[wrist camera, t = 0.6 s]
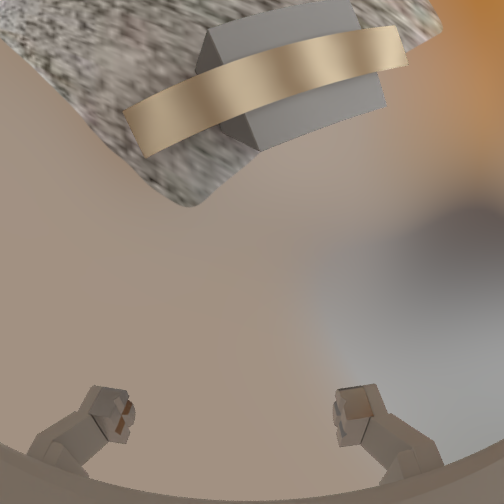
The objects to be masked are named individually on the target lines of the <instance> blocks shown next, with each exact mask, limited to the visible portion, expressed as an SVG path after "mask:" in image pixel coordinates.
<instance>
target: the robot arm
mask: <svg viewBox="0 0 504 504" xmlns="http://www.w3.org/2000/svg"><path fill="white" fill-rule="evenodd" d="M335 397H336V401H335V402H334V405H333V420H334V425H335V426H336V427H338V429H337V439H338V443H339V447H344V446H352V445H359V444H361V446H362V447H363V448H364V449H365V450H366V451H367V452H368V453H369V454H371V456H373V457H374V458H375V459H376V460H377V461H378V462H379V463H380V464H381V465H382V466H383V467H384V468H385V469H386V470H387V472H386V474H385V475H384V477H383V478H382V480H381V481H380V483H379V485H380V486H376V487H372V488H367V489H362V490H357V491H352V492H346V493H341V494H334V495H328V496H321V497H312V498H302V499H289V500H274V501H273V500H272V501H225V500H207V499H194V498H186V497H177V496H169V495H162V494H156V493H150V492H145V491H140V490H134V489H130V488H125V487H121V486H117V485H112V484H108V483H105V482H101V481H97V480H94V479H90V478H89V475H88V473H87V472H86V471H85V470H84V469H83V468H82V467H81V466H82V465H83V464H85V463H86V462H87V461H88V460H89V459H90V458H91V457H93V456H94V455H95V454H96V453H97V452H98V451H99V450H100V449H101V448H103V447H104V446H105V445H106V444H107V443H108V441H110V442H116V443H122V444H126V443H127V440H128V437H129V435H130V430H129V427H130V426H131V425H133V423H134V420H135V408H134V406H133V404H132V402H130V401H129V400H128V398H129V395H128V393H127V391H126V390H121V389H114V388H108V387H101V386H95V385H94V386H92V387H91V388H90V390H89V392H88V393H87V395H86V397H85V399H84V401H83V403H82V404H81V406H80V408H79V410H78V412H73V413H71V414H70V415H68V416H67V417H65V418H63V419H62V420H60V421H59V422H57V423H55V424H54V425H52V426H50V427H49V428H47V429H46V430H44V431H42V432H41V433H39V434H37V436H36V437H35V439H34V441H33V443H32V445H31V447H30V448H29V450H28V453H27V454H26V455H25V454H23V453H21V452H18V451H17V450H14V449H12V448H10V447H8V446H6V445H4V444H2V443H0V504H504V439H503V440H501V441H499V442H497V443H495V444H493V445H491V446H489V447H487V448H485V449H483V450H481V451H479V452H476V453H475V454H472V455H470V456H468V457H465V458H463V459H460V460H458V461H456V462H453V463H450V464H448V465H446V466H444V463H443V461H442V459H441V456H440V454H439V451H438V449H437V447H436V445H435V442H434V441H433V440H431V439H430V438H428V437H427V436H425V435H423V434H422V433H420V432H419V431H417V430H416V429H414V428H413V427H411V426H410V425H408V424H407V423H405V422H404V421H402V420H401V419H399V418H398V417H396V416H395V415H393V414H391V413H390V414H388V413H387V410H386V408H385V405H384V403H383V400H382V398H381V395H380V393H379V390H378V388H377V385H376V384H369V385H363V386H356V387H349V388H341V389H337V390H336V394H335Z"/></svg>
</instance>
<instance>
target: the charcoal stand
mask: <svg viewBox="0 0 504 504" xmlns="http://www.w3.org/2000/svg"><path fill="white" fill-rule="evenodd" d="M355 30H361V27H360V24H359V22H358V19H357V17H356V15H355V12H354V10H353V8H352V5H351V3H350V1H349V0H325V1H318V2H312V3H306V4H300V5H295V6H289V7H285V8H280V9H275V10H271V11H267V12H263V13H259V14H255V15H251V16H247V17H244V18H240V19H237V20H234V21H230V22H227V23H224V24H221V25H218V26H215V27H212V28H209V29H208V30H207V33H206V36H205V39H204V42H203V45H202V49H201V52H200V55H199V58H198V62H197V65H196V68H195V71H196V73H197V75H199V74H202V73H204V72H206V71H209V70H212V69H214V68H217V67H219V66H222V65H225V64H228V63H230V62H233V61H236V60H239V59H242V58H245V57H248V56H251V55H254V54H257V53H260V52H264V51H267V50H270V49H274V48H277V47H281V46H285V45H288V44H292V43H296V42H300V41H304V40H309V39H313V38H317V37H322V36H327V35H332V34H337V33H343V32H349V31H355ZM386 106H387V105H386V101H385V98H384V94H383V91H382V87H381V84H380V81H379V78H378V74H377V72H373V73H369V74H365V75H361V76H357V77H353V78H349V79H346V80H342V81H338V82H335V83H331V84H328V85H324V86H321V87H318V88H314V89H311V90H308V91H305V92H302V93H299V94H296V95H293V96H290V97H287V98H284V99H281V100H278V101H275V102H272V103H270V104H267V105H264V106H262V107H259V108H256V109H254V110H251V111H248V112H246V113H243V114H241V115H238V116H236V117H233V118H231V119H229V120H226V121H224V122H221V123H219V125H220V128H221V130H222V132H223V133H224V134H226V135H228V136H230V137H232V138H234V139H236V140H238V141H240V142H242V143H244V144H246V145H248V146H250V147H252V148H254V149H256V150H258V151H260V152H262V151H264V150H267V149H269V148H271V147H274V146H276V145H279V144H281V143H284V142H286V141H289V140H291V139H294V138H297V137H299V136H302V135H305V134H307V133H310V132H313V131H315V130H318V129H321V128H323V127H326V126H329V125H332V124H335V123H337V122H340V121H343V120H346V119H349V118H352V117H355V116H358V115H361V114H364V113H367V112H370V111H374V110H377V109H380V108H383V107H386Z"/></svg>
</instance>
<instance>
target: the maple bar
mask: <svg viewBox="0 0 504 504" xmlns="http://www.w3.org/2000/svg"><path fill="white" fill-rule="evenodd" d="M407 65H409V64H408V61H407V58H406V54H405V51H404V48H403V45H402V42H401V40H400V37H399V34H398V31H397V29H396V26H385V27H376V28H368V29H361V30H355V31H349V32H343V33H337V34H332V35H327V36H322V37H317V38H313V39H309V40H304V41H300V42H296V43H292V44H288V45H285V46H281V47H277V48H274V49H270V50H267V51H264V52H260V53H257V54H254V55H251V56H248V57H245V58H242V59H239V60H236V61H233V62H230V63H228V64H225V65H222V66H219V67H217V68H214V69H212V70H209V71H206V72H204V73H202V74H199V75H197V76H194V77H192V78H190V79H187V80H185V81H183V82H180V83H178V84H176V85H174V86H171V87H169V88H167V89H165V90H163V91H161V92H159V93H157V94H155V95H153V96H151V97H149V98H147V99H145V100H143V101H141V102H139V103H137V104H135V105H133V106H131V107H129V108H127V109H126V110H124V111H122V112H123V114H124V116H125V118H126V120H127V122H128V124H129V126H130V128H131V131H132V133H133V135H134V137H135V139H136V141H137V143H138V145H139V147H140V149H141V151H142V153H143V155H144V157H145V158H147V157H149V156H151V155H153V154H155V153H157V152H159V151H161V150H163V149H165V148H167V147H169V146H171V145H173V144H175V143H177V142H179V141H181V140H183V139H186V138H188V137H190V136H192V135H194V134H196V133H199V132H201V131H203V130H205V129H207V128H210V127H212V126H214V125H217V124H219V123H221V122H224V121H226V120H229V119H231V118H233V117H236V116H238V115H241V114H243V113H246V112H248V111H251V110H254V109H256V108H259V107H262V106H264V105H267V104H270V103H272V102H275V101H278V100H281V99H284V98H287V97H290V96H293V95H296V94H299V93H302V92H305V91H308V90H311V89H314V88H318V87H321V86H324V85H328V84H331V83H335V82H338V81H342V80H346V79H349V78H353V77H357V76H361V75H365V74H369V73H373V72H378V71H382V70H386V69H392V68H396V67H401V66H407Z"/></svg>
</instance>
